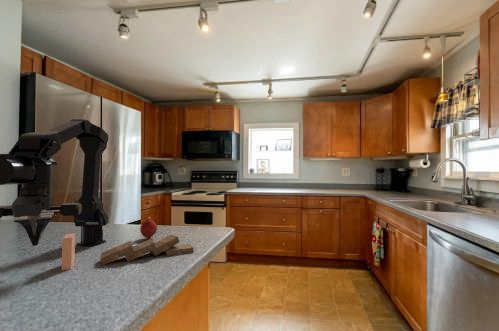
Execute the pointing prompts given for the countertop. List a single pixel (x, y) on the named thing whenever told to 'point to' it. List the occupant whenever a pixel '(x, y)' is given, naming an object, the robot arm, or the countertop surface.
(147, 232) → the pomegranate
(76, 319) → the countertop surface
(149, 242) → the domino
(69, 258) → the loose domino
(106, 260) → the domino
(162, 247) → the domino
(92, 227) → the robot arm
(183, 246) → the domino
